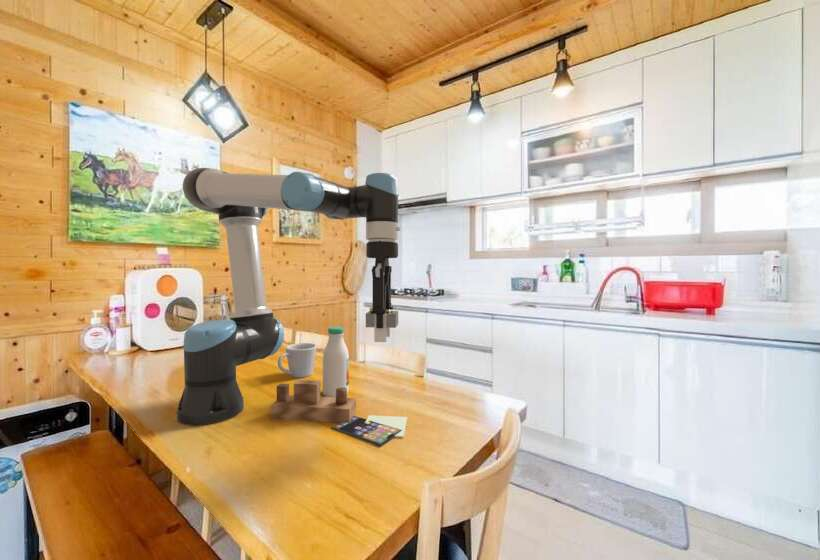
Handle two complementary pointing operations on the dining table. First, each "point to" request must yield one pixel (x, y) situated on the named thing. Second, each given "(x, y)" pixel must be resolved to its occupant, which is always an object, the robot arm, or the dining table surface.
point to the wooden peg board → (312, 404)
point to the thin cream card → (391, 422)
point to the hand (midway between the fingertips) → (382, 338)
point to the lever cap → (390, 319)
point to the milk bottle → (335, 363)
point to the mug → (299, 359)
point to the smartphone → (367, 430)
